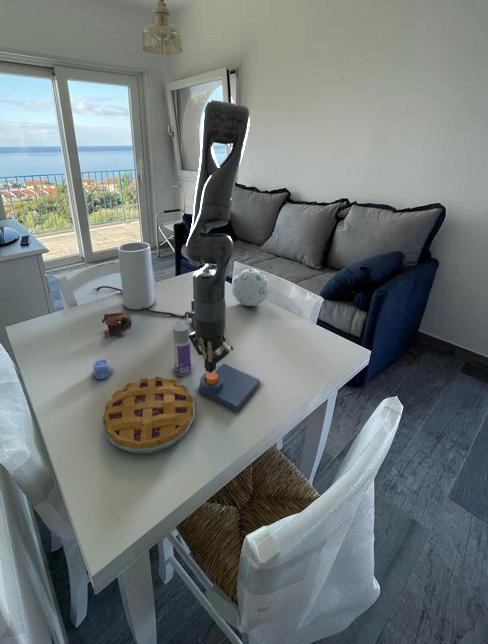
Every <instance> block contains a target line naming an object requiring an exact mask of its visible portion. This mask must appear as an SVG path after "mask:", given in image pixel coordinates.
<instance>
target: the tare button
mask: <svg viewBox="0 0 488 644" xmlns="http://www.w3.org/2000/svg"><path fill="white" fill-rule="evenodd" d="M206 373H207V374H206V383H207V384H209V385H214V384H216V383H217V382H218V375H217V374H216V373H215V371H213V372H211V373H209V372H206Z"/></svg>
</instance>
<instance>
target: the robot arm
mask: <svg viewBox="0 0 488 644" xmlns="http://www.w3.org/2000/svg"><path fill="white" fill-rule="evenodd" d="M250 121H251V113H250V108H249V107H248V106H247V105H242V104H239V103H235V102H234V103H233V102H229V101H228V102H227V101H222V100H217V99H215V100H214V99H211V100H209V101H208V102H207V103H206V105H205V108H204V111H203V116H202V125H201V139H200V140H201V141H200V157H199V167H198V175H197V180H196V186H195V194H194V202H193V203H194V204H193V213H192V223H191V228H190V233H189V236H188V239H187V241H186V245H185V254H186V257H187V260H188V263H189V264H190V265H192V266H203V265H204V266H203V267H202V268H200V269H199V270H197V271H195V272H194V273H193V274H192V291H193V292H192V295H193V297H192V298H193V299H192V300H191V302H190V308H191V309H190V310H189V311H185V312H184V315H178V314H175V313H172V312H168V311H159V310H152V309H149V308H142V309H141V310H143V311H146V312H148V313H152V314H153V313H154V314H159V315H160V314H161V315H168V316H173V317H175V318H176V317H177V318H181V319H184V318H188V319H191V325H193V326H194V330H195V331H193V332H191V333H189V339H190V343H191V344H192V346H193V348H194V350H195V351H196V353H197V355H198V356H202V359H203V362H204V363H203V364H204V365H203V367H204V369H205V371H206V373H208V372H209V373H211V372H215V371H216V370H217V364H218V363H219V362H220V361H222V360H223V359H224V358H226V357H227V356H228V355H229V354H230V353H231V352H233V350H234V347H233V346H232V345H228V344H227V342H226V337H225V331H226V313H227V311H226V309H227V307H226V280H227V279H226V278H227V273H228V269H229V266H230V263H231V261H232V257H233V256H234V255H233V254H234V249H235V244H234V241H233V239H232V238H231V236H230V235H229V234H226V233H215V232H214V233H213V232H210V231H211V230H212V229H215V228H219V227H224V226H226V225H227V224H228V223H229V222H230V219H231V213H232V205H233V197H234V193H235V186H236V181H237V179H238V176H239V175H238V174H239V170H240V167H241V163H242V159H243V156H244V151H245V148H246V147H245V146H246V142H247V138H248V133H249V129H250V128H249V127H250V123H251V122H250ZM215 144H220V145H224V146H225V145H226V146H231V148H230V151H229V152H228V155H227V156H226V157H225V159H224V161H222V163H221V164H220V165H219V164H218V160H217V157H216V152H215ZM100 289H111V290H114V291H119V292H121V293H122V294H123V290H122V288H117V287H115V286H108V285H102V286H101V285H100V286H99V287H98V288H96V291H99V290H100ZM220 348H221V349H220ZM219 351H220V353H219ZM218 353H219V354H218Z"/></svg>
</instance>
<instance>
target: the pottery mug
mask: <svg viewBox="0 0 488 644" xmlns="http://www.w3.org/2000/svg"><path fill="white" fill-rule="evenodd" d="M101 324H105V325H106V326H107V330H104V335H105V336H104V337H105V338H114V337H115V338H117V337H123V333H126V332H127V331H128V330H130V329H131V327H132V324H133V320H132V319H131V318H130V317H127V315H126V314H125V312H123V311H120V312H112V313H105V314H103V317H102V320H101Z"/></svg>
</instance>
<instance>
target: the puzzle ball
mask: <svg viewBox="0 0 488 644" xmlns="http://www.w3.org/2000/svg"><path fill="white" fill-rule="evenodd" d="M231 291H232V294H233V295H232V296H233V297H234V298H235V299H236V301H237V302H238V303H240V304H241V305H243V306H247V307H254V306H259V305H260V304H261V303H263V302H264V301H265V300H266V299H267V296H268V295H269V291H270V284H269V280H268V278H267V276H265V274H264V273H262V272H261V271H259V270H257V269H254V268H252V269H250V268H247V269H243V270H241V271H239V272H238V273H237V274H236V275H235V277H234V278H233V279H232V282H231Z"/></svg>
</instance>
